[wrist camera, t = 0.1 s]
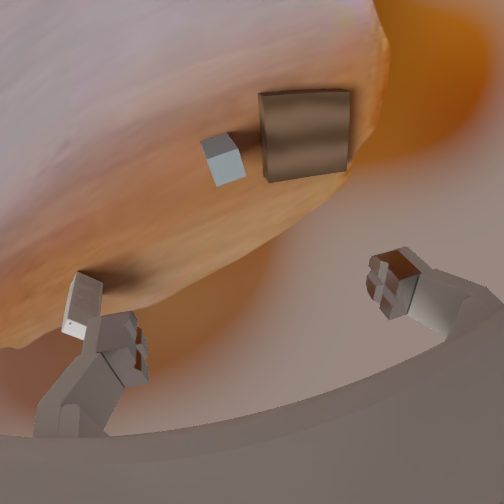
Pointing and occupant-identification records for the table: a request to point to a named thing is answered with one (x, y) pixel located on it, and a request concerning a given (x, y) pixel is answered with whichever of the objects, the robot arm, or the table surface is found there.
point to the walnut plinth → (304, 132)
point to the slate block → (223, 159)
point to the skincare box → (82, 304)
